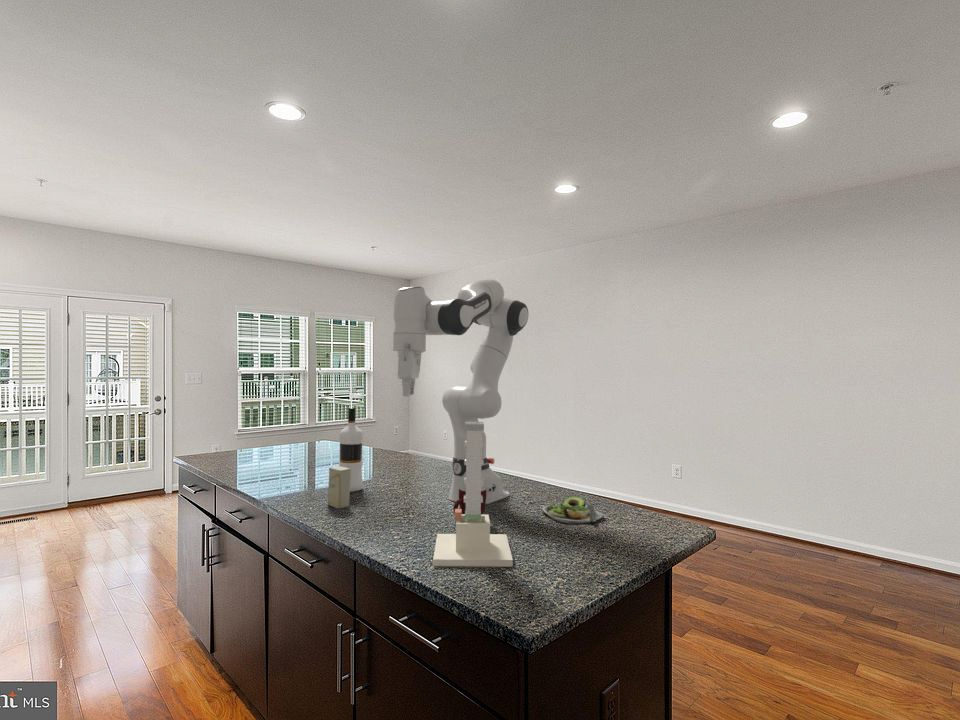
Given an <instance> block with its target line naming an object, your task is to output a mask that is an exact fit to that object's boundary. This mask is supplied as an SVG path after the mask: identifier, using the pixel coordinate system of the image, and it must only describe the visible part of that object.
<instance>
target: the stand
mask: <svg viewBox="0 0 960 720" xmlns="http://www.w3.org/2000/svg"><path fill="white" fill-rule="evenodd" d="M461 513H462V509H460V508H458V509H455V514H454V521H455V522H456V523H455V533H437V534H436V541H435V545H434V552H433V558H432V567H495V568H496V567H498V568H499V567H504V568H505V567H506V568H507V567H511V568H512V567H514V566H513V565H514V561H513V560H514V559H513V554H512V552H511V548H510V545H509V544H510V543H509V540H508V536H507V534H506V533H505V534H504V533H503V534H501V533H497V534H495V533H491V522H490V516H489V515H490V514H483V515H481V520H480V522H465V514H461Z"/></svg>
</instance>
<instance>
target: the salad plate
mask: <svg viewBox="0 0 960 720" xmlns="http://www.w3.org/2000/svg"><path fill="white" fill-rule="evenodd" d="M541 511H542V513H543V515H545V516H547V517H548V518H551V519H552V520H555V521H556V522H560V523H562V524H563V523H564V524H569V525H570V524H571V525H574V524H575V525H576V524H577V525H578V524H579V525H580V523H581V524H591V522H592V523H596V522H597V521H599V520H601V519H602V518H603V516H604V515H603V513H602V512H600V511H598V510H596V509H594V506H593V505H592V504H586V500H585V498H583V497H580V496H569V497H566V498H564V499H563V500H562V503H560V504H557V505H556V504H550V505H544V506H543V507H542V509H541ZM566 518H567V519H566Z"/></svg>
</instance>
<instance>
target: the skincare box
mask: <svg viewBox="0 0 960 720" xmlns="http://www.w3.org/2000/svg"><path fill="white" fill-rule="evenodd" d="M328 471H329V472H328V488H327V489H328V491H327V492H328V493H327V506H329V505H330V507H333V508H336V509H343V508H346V507H349V506H350V494H351V492H350V475H351V469H349V468H346V467H341V466H339V465H337V466H333V467H331V466H330V467H329V469H328Z"/></svg>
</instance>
